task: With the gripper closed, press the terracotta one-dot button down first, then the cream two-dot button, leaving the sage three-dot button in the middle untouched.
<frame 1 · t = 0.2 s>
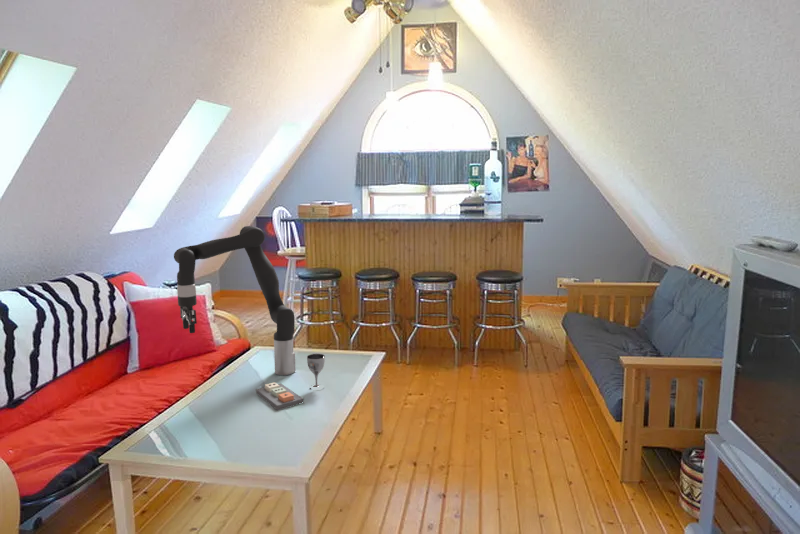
hand: (189, 330, 242), 29 cm above the table, tool pointing down, fingers open, 8 cm apart
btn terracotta: (286, 397, 236), point 3 cm above the table, slide at 0.0 cm
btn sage: (279, 392, 242), point 3 cm above the table, slide at 0.0 cm
button board: (279, 398, 242), on the table
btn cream: (272, 387, 247), point 3 cm above the table, slide at 0.0 cm
wine glass: (316, 388, 255), on the table
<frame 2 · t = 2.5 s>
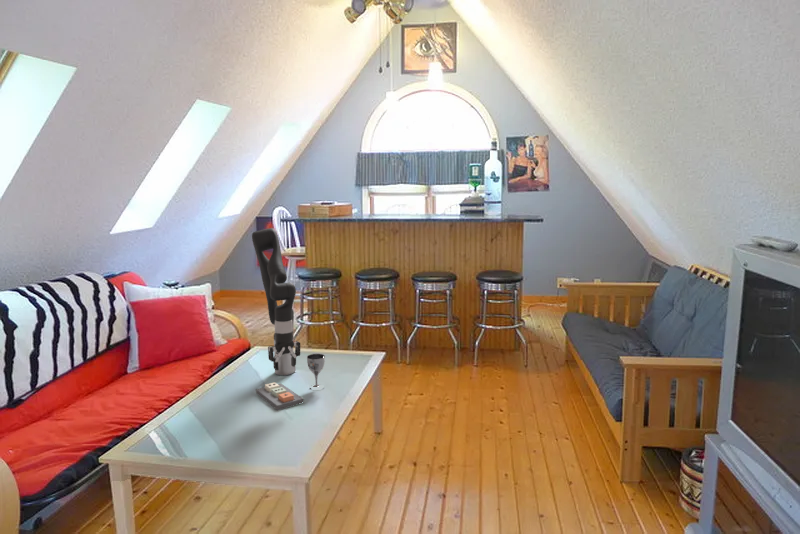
hand: (285, 367, 234), 16 cm above the table, tool pointing down, fingers open, 7 cm apart
nothing on the table moved.
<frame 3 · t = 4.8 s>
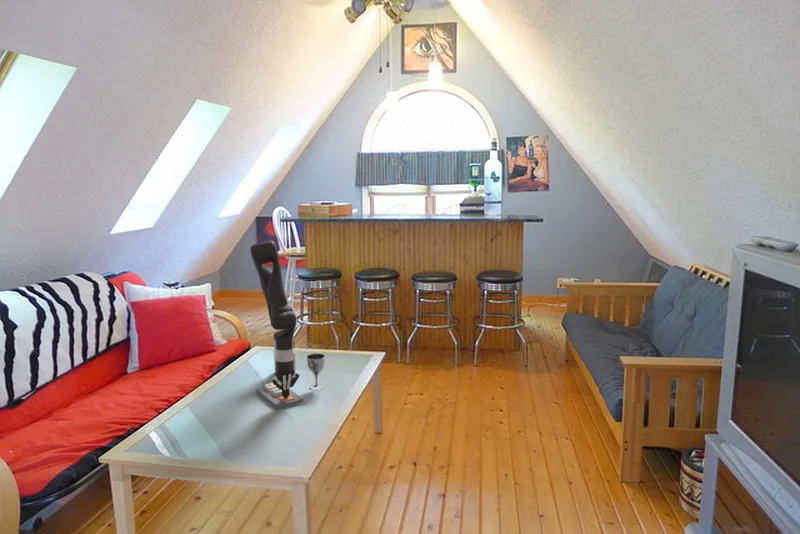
hand: (285, 397, 236), 3 cm above the table, tool pointing down, fingers closed
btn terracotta: (286, 400, 237), point 2 cm above the table, slide at 1.2 cm, touching gripper
everything else where it was.
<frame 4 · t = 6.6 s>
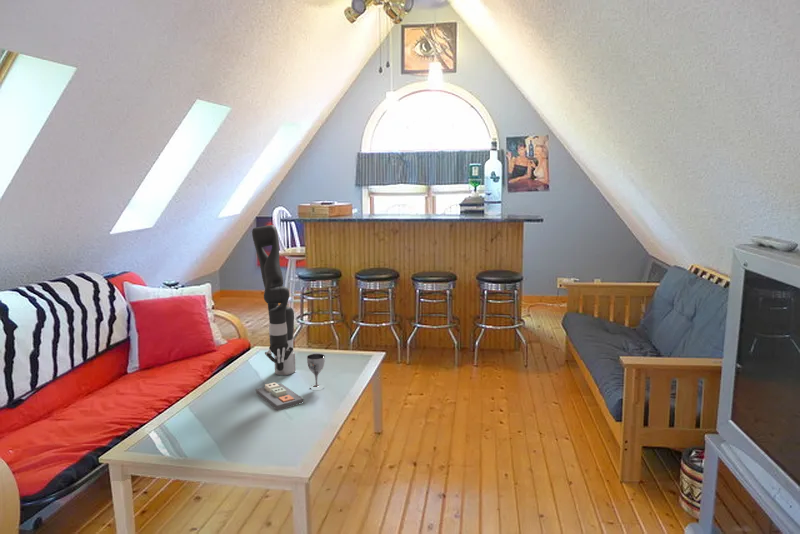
hand: (279, 370, 242), 12 cm above the table, tool pointing down, fingers closed
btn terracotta: (286, 400, 237), point 1 cm above the table, slide at 1.3 cm
everything else where it was.
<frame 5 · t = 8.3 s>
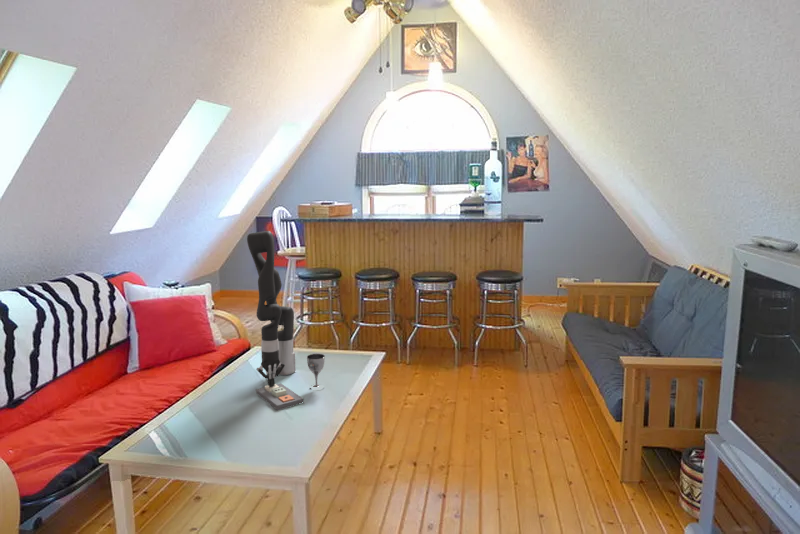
hand: (271, 386, 247), 3 cm above the table, tool pointing down, fingers closed
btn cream: (272, 388, 247), point 2 cm above the table, slide at 0.7 cm, touching gripper
everything else where it was.
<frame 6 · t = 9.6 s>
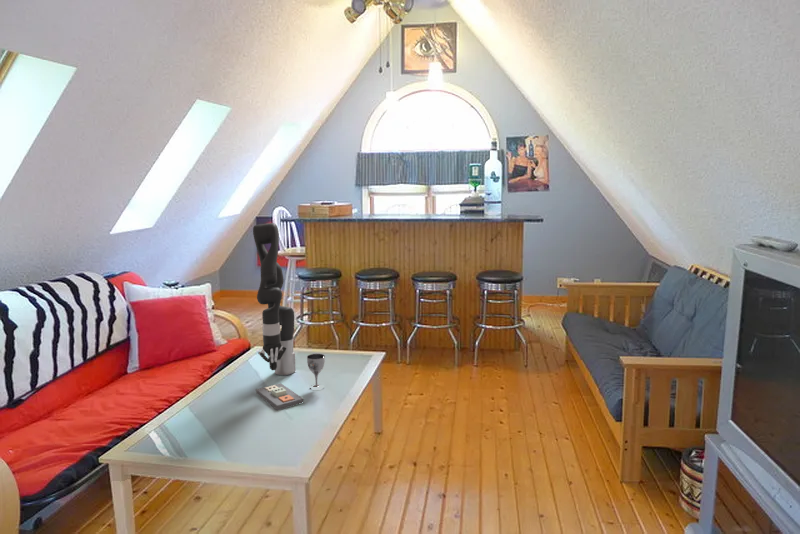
hand: (273, 369, 246), 11 cm above the table, tool pointing down, fingers closed
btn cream: (272, 390, 248), point 1 cm above the table, slide at 1.3 cm
everything else where it was.
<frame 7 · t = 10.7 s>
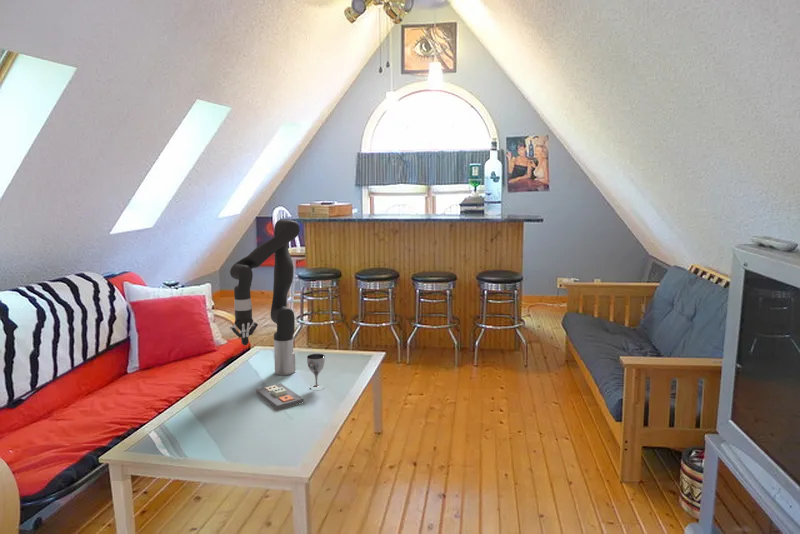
hand: (245, 344, 254), 20 cm above the table, tool pointing down, fingers closed
nothing on the table moved.
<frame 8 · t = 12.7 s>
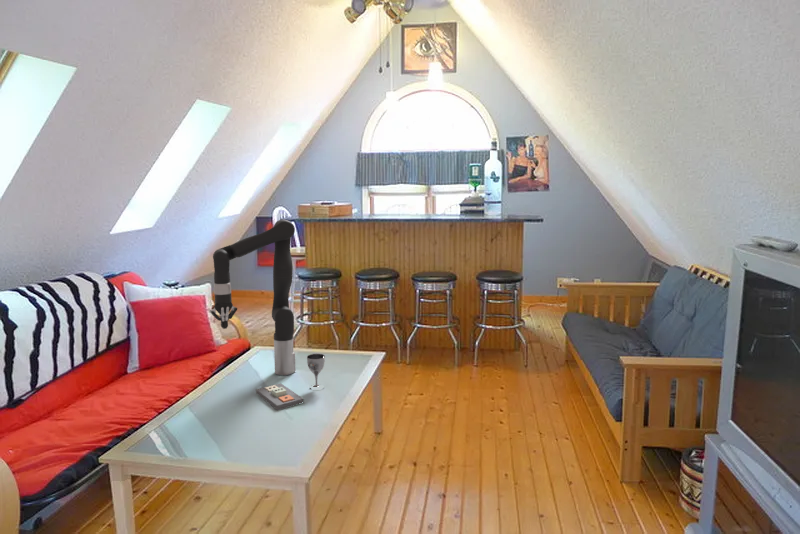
hand: (224, 328, 260), 25 cm above the table, tool pointing down, fingers closed
nothing on the table moved.
at the end: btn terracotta slide at 1.3 cm; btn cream slide at 1.3 cm; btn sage slide at 0.0 cm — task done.
